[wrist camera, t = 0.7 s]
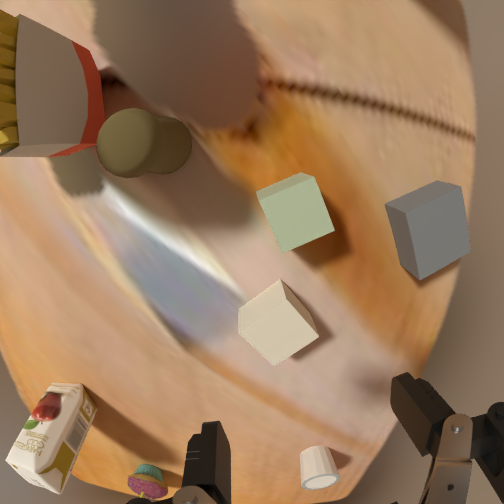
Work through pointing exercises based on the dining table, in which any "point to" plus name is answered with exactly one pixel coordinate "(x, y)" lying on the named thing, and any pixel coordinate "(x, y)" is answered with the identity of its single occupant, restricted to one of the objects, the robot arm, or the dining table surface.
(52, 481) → the juice carton
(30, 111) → the french fries container
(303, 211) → the sage block
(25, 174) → the dining table surface
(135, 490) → the cupcake
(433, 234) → the slate block
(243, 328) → the cream block
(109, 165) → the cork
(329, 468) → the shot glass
